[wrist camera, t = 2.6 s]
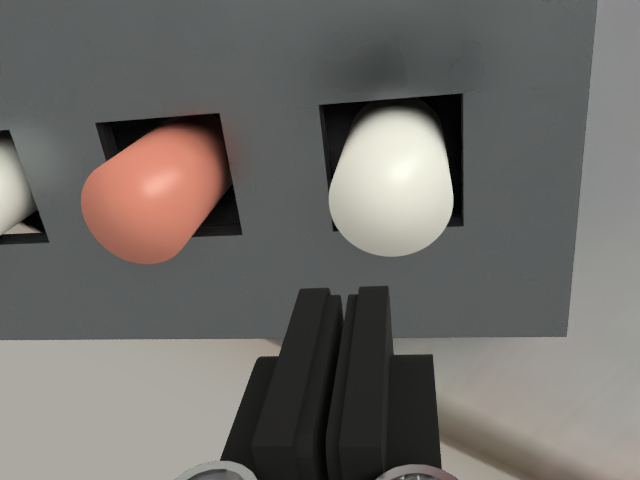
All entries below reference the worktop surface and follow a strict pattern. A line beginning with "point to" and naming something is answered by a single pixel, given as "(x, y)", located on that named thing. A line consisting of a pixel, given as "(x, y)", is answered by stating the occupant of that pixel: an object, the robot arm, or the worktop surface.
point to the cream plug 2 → (392, 179)
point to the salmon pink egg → (158, 189)
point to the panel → (296, 160)
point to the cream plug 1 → (13, 186)
